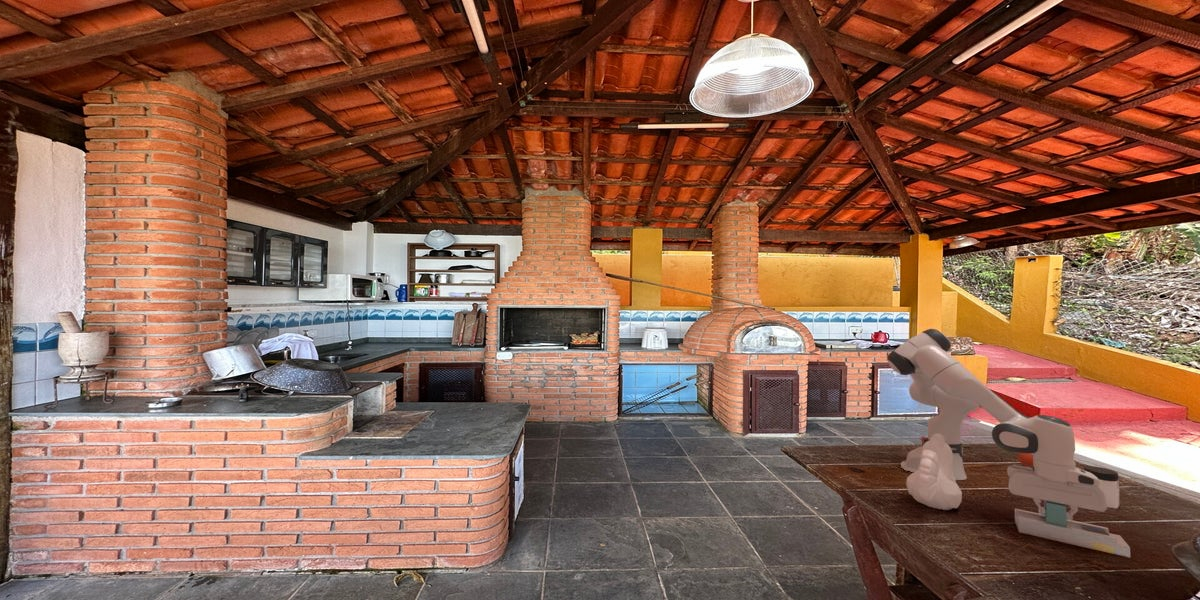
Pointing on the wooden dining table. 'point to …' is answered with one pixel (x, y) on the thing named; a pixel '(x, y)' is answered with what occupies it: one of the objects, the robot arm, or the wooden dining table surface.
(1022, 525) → the white long bar
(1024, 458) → the tomato
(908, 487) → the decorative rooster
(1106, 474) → the jar
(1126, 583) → the wooden dining table surface
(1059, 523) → the block
